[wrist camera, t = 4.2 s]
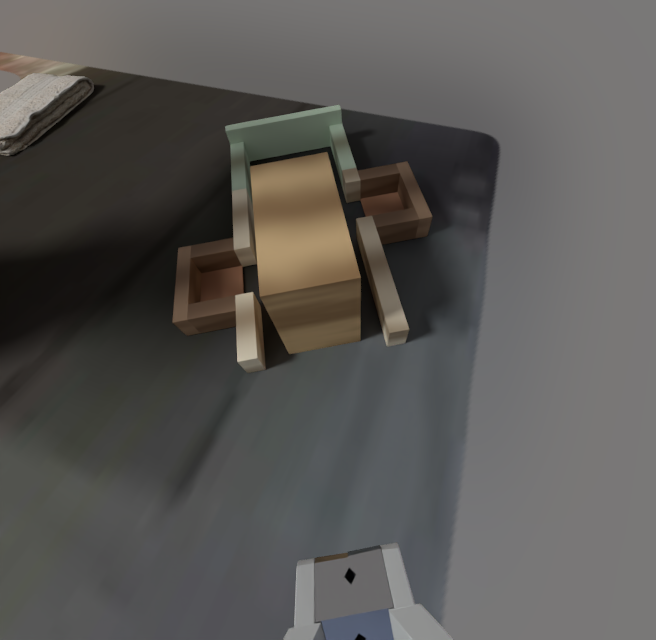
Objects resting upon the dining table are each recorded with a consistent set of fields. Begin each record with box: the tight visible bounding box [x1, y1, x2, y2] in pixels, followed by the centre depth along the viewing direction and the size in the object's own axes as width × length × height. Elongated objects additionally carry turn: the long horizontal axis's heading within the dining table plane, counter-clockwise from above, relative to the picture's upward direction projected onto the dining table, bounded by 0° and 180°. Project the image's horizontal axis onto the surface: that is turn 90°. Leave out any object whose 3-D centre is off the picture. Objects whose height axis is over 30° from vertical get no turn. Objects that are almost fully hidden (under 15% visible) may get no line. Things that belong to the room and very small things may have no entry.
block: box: [250, 152, 361, 354], centre depth 26 cm, size 12×6×9 cm, turn 9°
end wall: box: [225, 105, 342, 161], centre depth 38 cm, size 1×13×4 cm, turn 100°
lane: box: [172, 124, 432, 373], centre depth 31 cm, size 27×23×2 cm
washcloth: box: [0, 73, 94, 156], centre depth 48 cm, size 12×18×3 cm, turn 161°
